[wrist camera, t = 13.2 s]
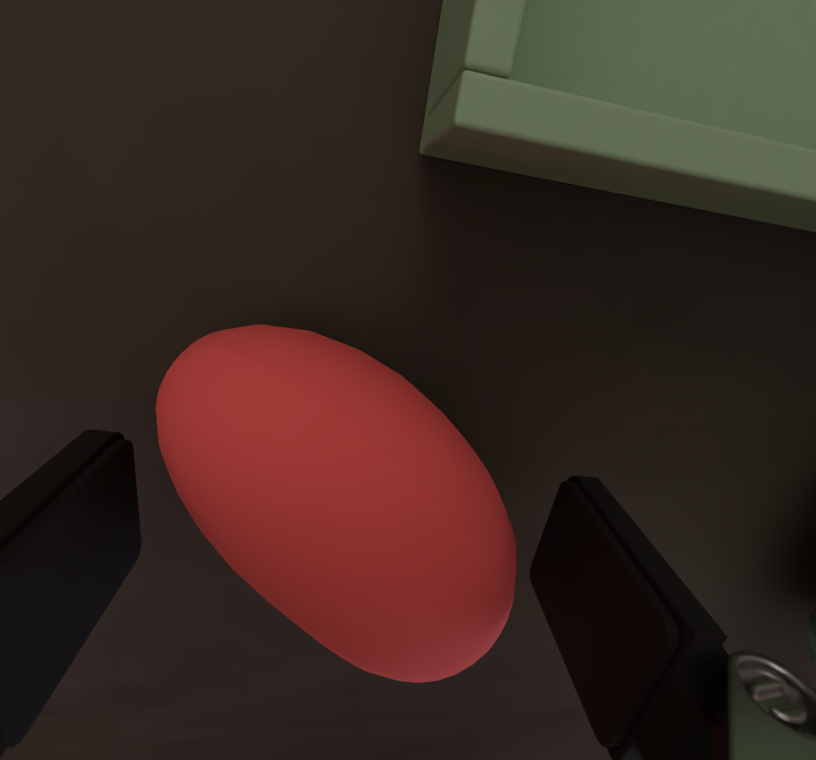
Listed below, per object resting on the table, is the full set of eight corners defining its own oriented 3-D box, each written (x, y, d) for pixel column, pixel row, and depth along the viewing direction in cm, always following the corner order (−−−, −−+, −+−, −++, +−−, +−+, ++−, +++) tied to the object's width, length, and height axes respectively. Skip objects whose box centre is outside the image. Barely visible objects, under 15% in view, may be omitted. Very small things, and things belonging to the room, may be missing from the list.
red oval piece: (439, 259, 11) (269, 233, 5) (580, 583, 11) (564, 895, 5) (293, 341, 13) (63, 384, 7) (412, 608, 13) (277, 845, 8)
